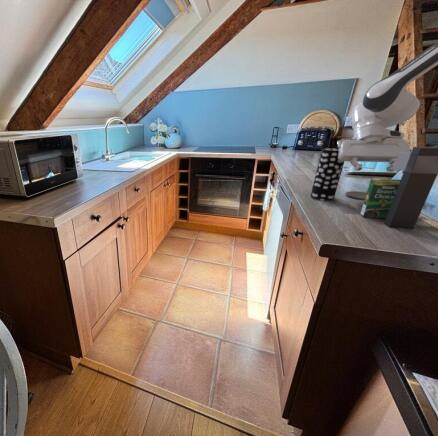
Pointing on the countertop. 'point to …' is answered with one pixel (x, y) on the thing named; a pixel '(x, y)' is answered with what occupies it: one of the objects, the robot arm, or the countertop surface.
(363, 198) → the coaster
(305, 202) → the countertop surface
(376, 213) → the coffee box
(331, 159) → the spotted tube
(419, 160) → the tall grey box
